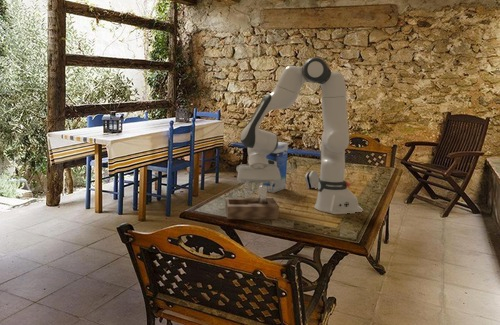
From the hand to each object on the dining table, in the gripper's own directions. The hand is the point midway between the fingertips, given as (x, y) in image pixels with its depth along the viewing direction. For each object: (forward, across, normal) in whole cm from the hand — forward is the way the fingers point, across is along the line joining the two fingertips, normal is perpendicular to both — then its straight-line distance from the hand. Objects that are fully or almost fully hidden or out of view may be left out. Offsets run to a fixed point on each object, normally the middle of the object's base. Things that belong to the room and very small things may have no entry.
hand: (260, 190), depth 196 cm
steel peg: (+11, 0, +1) cm, 11 cm away
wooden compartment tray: (+12, -5, +2) cm, 13 cm away
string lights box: (-20, +14, +33) cm, 42 cm away
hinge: (-27, +39, +40) cm, 62 cm away
